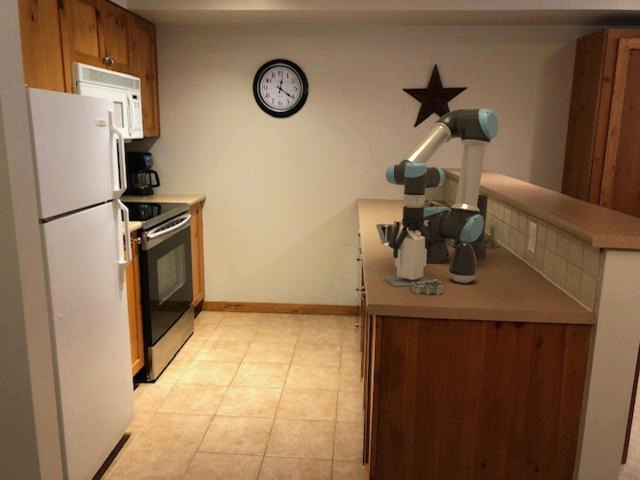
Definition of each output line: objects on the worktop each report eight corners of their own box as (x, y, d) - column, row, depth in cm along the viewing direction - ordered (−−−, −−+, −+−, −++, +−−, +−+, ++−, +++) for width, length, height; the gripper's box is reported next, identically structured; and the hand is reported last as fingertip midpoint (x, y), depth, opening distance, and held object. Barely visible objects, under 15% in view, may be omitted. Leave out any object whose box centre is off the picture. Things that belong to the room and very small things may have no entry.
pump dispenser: (442, 279, 204) (444, 240, 200) (464, 276, 208) (467, 238, 205) (458, 286, 194) (462, 245, 191) (481, 283, 198) (485, 243, 195)
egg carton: (440, 289, 191) (441, 278, 190) (442, 296, 183) (443, 284, 182) (410, 288, 192) (411, 277, 191) (411, 294, 185) (412, 282, 184)
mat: (423, 277, 206) (423, 275, 206) (435, 284, 196) (435, 283, 196) (384, 279, 202) (384, 277, 202) (394, 287, 192) (394, 285, 192)
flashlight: (481, 255, 245) (466, 255, 244) (486, 194, 239) (471, 194, 238) (488, 258, 238) (472, 258, 237) (493, 196, 232) (478, 196, 231)
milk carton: (396, 276, 198) (398, 226, 194) (407, 273, 203) (409, 223, 199) (412, 280, 193) (415, 228, 190) (423, 276, 199) (426, 226, 195)
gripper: (388, 208, 187) (385, 269, 191) (446, 207, 192) (442, 267, 197) (380, 205, 194) (378, 264, 198) (437, 204, 199) (433, 262, 204)
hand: (410, 265), depth 198 cm, fingers closed on milk carton, 10 cm apart
